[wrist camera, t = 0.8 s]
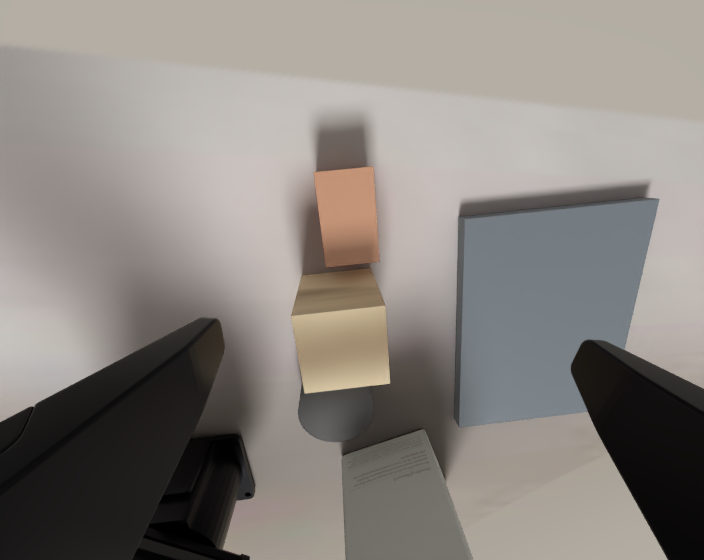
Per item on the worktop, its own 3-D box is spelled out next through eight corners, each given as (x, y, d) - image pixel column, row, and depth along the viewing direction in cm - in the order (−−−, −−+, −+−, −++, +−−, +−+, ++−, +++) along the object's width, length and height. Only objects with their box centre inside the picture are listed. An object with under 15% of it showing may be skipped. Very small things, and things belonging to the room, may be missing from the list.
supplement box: (338, 454, 26) (345, 696, 14) (425, 425, 26) (507, 651, 14) (367, 511, 28) (394, 758, 17) (447, 486, 28) (532, 721, 16)
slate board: (600, 400, 26) (610, 409, 25) (454, 417, 25) (458, 427, 24) (644, 197, 20) (659, 199, 19) (458, 216, 20) (464, 219, 19)
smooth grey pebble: (371, 406, 25) (376, 437, 22) (307, 413, 25) (303, 446, 22) (366, 350, 23) (371, 376, 20) (297, 358, 23) (292, 385, 20)
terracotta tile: (372, 248, 20) (379, 261, 18) (326, 253, 20) (325, 267, 18) (367, 166, 19) (373, 166, 16) (316, 171, 19) (313, 172, 16)
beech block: (375, 328, 22) (390, 383, 17) (311, 336, 22) (304, 393, 17) (370, 267, 21) (385, 305, 15) (301, 275, 21) (291, 316, 15)
